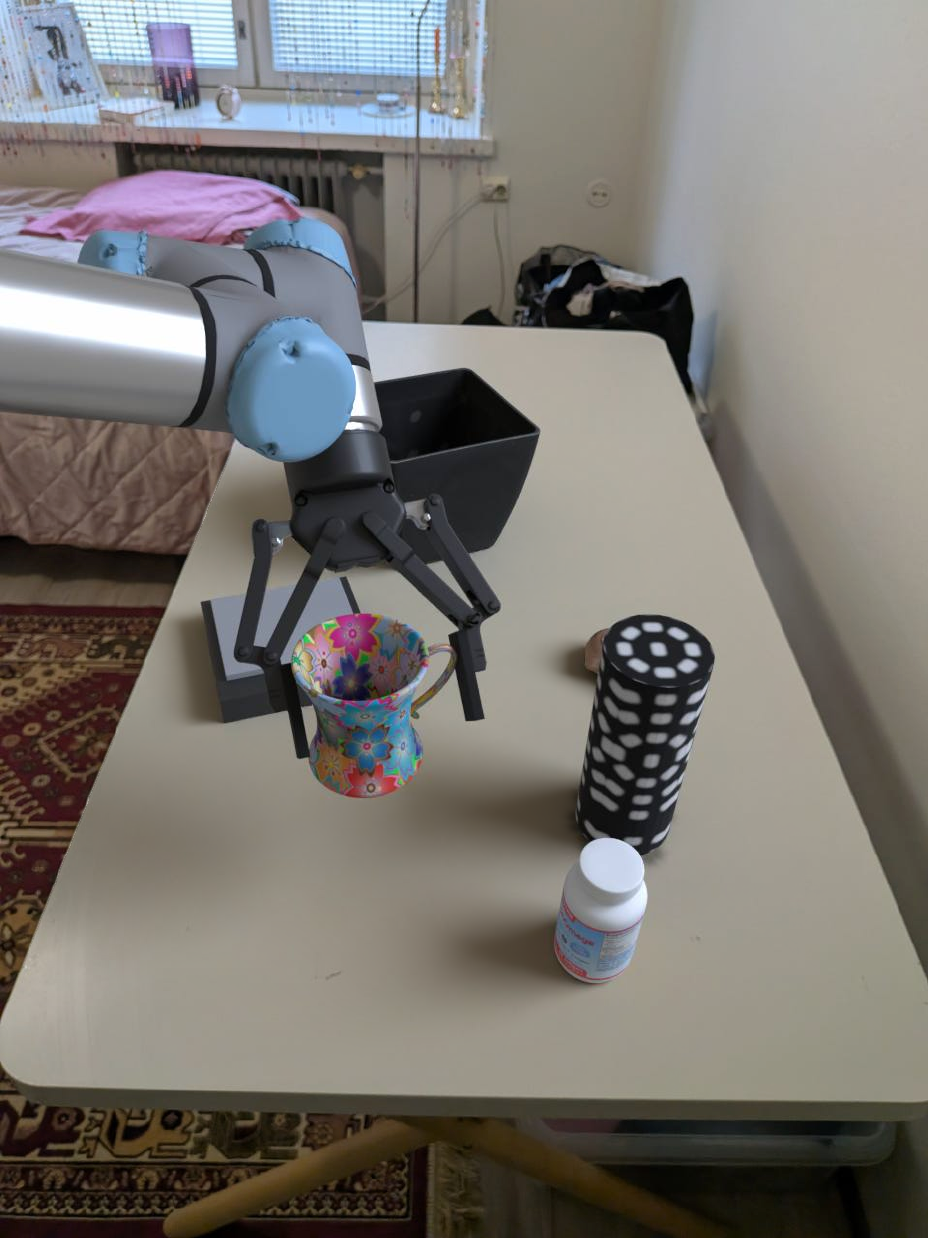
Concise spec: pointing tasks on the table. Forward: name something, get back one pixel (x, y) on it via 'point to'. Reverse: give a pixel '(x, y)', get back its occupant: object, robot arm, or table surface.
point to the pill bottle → (601, 911)
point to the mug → (365, 700)
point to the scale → (264, 641)
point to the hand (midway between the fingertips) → (391, 738)
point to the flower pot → (455, 452)
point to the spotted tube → (642, 728)
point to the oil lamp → (594, 650)
